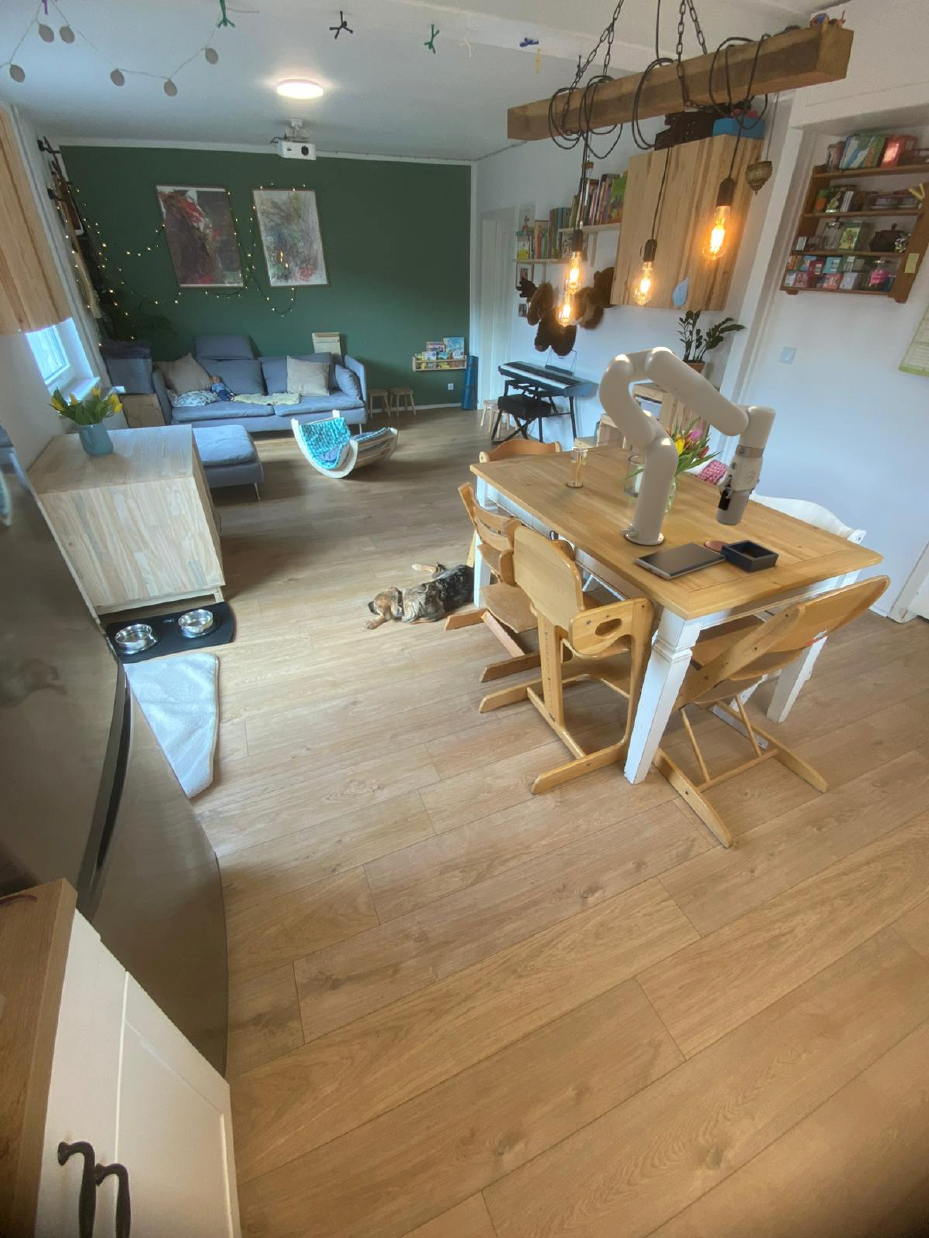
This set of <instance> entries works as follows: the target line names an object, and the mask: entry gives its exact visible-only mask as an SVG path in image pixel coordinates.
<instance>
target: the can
mask: <svg viewBox="0 0 929 1238" xmlns="http://www.w3.org/2000/svg"><path fill="white" fill-rule="evenodd" d="M729 487H730V486H729ZM730 488H731V487H730ZM748 490H749V489H746V490H741V491H734V492H733V493H732V495H731V496H730V499H731V500H730V503H729V506H728V509H727V511H724V510H722V509H720V508H718V507H717V511H716V515H715V520H716V521H717V523H719V524H720V525H724V526H728V527H734V526H737V525H739V524H741V523H742V519H743V516H744V512H745V510H746V507H747V505H748V502H749V499H750V496H749V495H750V492H749V491H748ZM729 491H730V490H727V493H728V492H729ZM748 498H749V499H748ZM747 501H748V502H747ZM746 504H747V505H746Z"/></svg>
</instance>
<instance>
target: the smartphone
mask: <svg viewBox="0 0 929 1238" xmlns="http://www.w3.org/2000/svg"><path fill="white" fill-rule="evenodd" d="M725 558H726V557H725V556H723V555H721V554H720V552H715V551H712V550H710V549H708V548H707V547H706V546H703V545H701V544H699V543H697V542H695V541H689V542H686V543H682V544H680V545H675V546H673V547H670V548H666V549H663V550H659V551H656V552H654V553H650V554H646V555H644V556H640V557H637V558H635V561H634V563H635V564H637V565H638V566H641V567H642V568H644V569H646V570H648V571H650V572H652V573H654V574H655V575H657V576H659V577H661V578H662V579H665V580H671V579H674V578H677V577H681V576H684V575H686V574H689V573H692V572H695V571H698V570H700V569H704V568H707V567H710V566H713V565H715V564H717V563H721V562H724V561H726V560H725Z"/></svg>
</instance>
